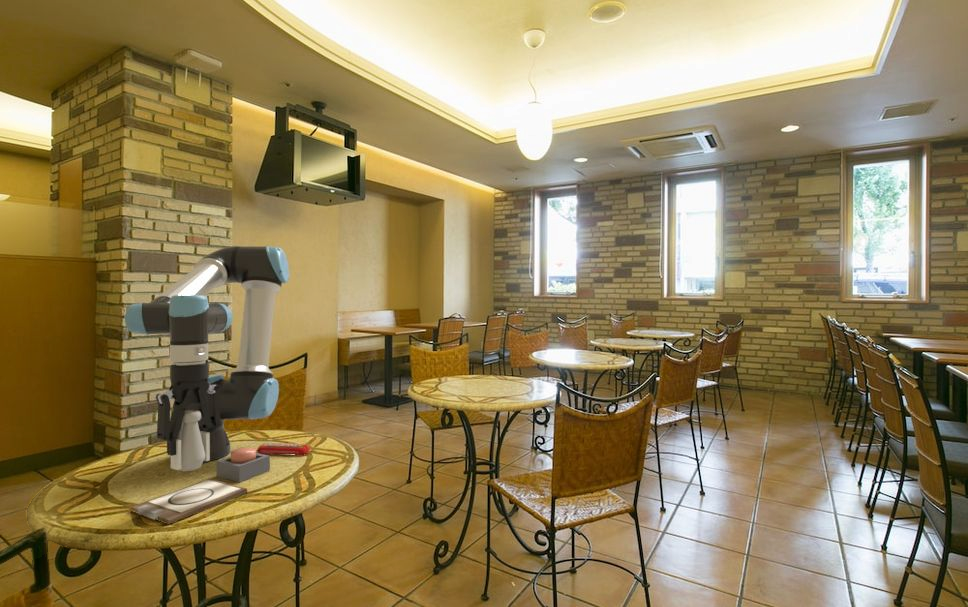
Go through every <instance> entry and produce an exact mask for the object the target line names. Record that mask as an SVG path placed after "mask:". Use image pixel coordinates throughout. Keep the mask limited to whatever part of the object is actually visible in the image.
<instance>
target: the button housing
mask: <svg viewBox="0 0 968 607" xmlns="http://www.w3.org/2000/svg"><path fill="white" fill-rule="evenodd" d="M270 462H271V456H270V455H269V454H259V453H258V452H256V459H254V460H251V461H249V462H246V463H243V464H237V463H233V462H231V456H228V457H223V458H222V459H221V458H220V459H217V460H216V477H217V476H218V477H219V478H221V477H222V479H226V480H229V481H230V480H231V481H233V482H238V483H242V482H244V481H247V480H249V479H252V478H255V477H257V476H260V475H262V473H263V474H265V473H267V471H268V472H270V471H271V463H270ZM269 470H270V471H269ZM264 472H265V473H264ZM259 474H260V475H259Z"/></svg>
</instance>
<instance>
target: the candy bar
mask: <svg viewBox="0 0 968 607" xmlns="http://www.w3.org/2000/svg"><path fill="white" fill-rule="evenodd" d="M309 451H311V448H310V447H309V446H308V445H307V444H304V443H289V442H288V443H284V442H282V443H281V442H264V443H262V444H260V445H259V446H258V447H257V449H256V453H259V454H263V455H269V454H295V455H294V456H297V455H303V456H305V455H307V454H308V453H309ZM304 454H305V455H304Z"/></svg>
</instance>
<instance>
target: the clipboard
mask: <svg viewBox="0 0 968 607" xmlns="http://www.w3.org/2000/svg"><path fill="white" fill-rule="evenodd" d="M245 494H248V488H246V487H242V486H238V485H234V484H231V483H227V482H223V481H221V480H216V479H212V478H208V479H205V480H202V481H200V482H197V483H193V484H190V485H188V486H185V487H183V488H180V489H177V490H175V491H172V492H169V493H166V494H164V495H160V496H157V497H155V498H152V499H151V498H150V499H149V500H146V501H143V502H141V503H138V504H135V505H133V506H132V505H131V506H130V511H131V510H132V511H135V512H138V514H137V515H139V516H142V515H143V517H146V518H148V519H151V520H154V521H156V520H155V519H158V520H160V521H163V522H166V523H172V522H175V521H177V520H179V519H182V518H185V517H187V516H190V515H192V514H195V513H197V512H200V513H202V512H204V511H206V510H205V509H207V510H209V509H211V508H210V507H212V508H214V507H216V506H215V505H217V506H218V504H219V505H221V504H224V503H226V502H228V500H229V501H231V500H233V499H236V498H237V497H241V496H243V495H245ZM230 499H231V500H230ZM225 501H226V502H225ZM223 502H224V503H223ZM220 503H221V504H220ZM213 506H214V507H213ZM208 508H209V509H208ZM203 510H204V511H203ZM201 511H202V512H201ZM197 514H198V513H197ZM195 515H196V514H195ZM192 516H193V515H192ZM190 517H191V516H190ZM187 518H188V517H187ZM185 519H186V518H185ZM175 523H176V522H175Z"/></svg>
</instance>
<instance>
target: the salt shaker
mask: <svg viewBox="0 0 968 607" xmlns="http://www.w3.org/2000/svg"><path fill="white" fill-rule="evenodd" d="M200 419H201V412H200V411H198V410H188V411H185V413H184V417H183V420H182V427H181V432H180V438H179V440H181V468H182V469H181V470H180V471H183V472H188V471H189V472H191V471H195V470H197V469H200V468H201V467H202V465H203V463H204V462H203V460H204V459H205V450H204V446H203V442H202V438H201V434H200V430H199V426H198V421H199V420H200Z"/></svg>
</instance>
